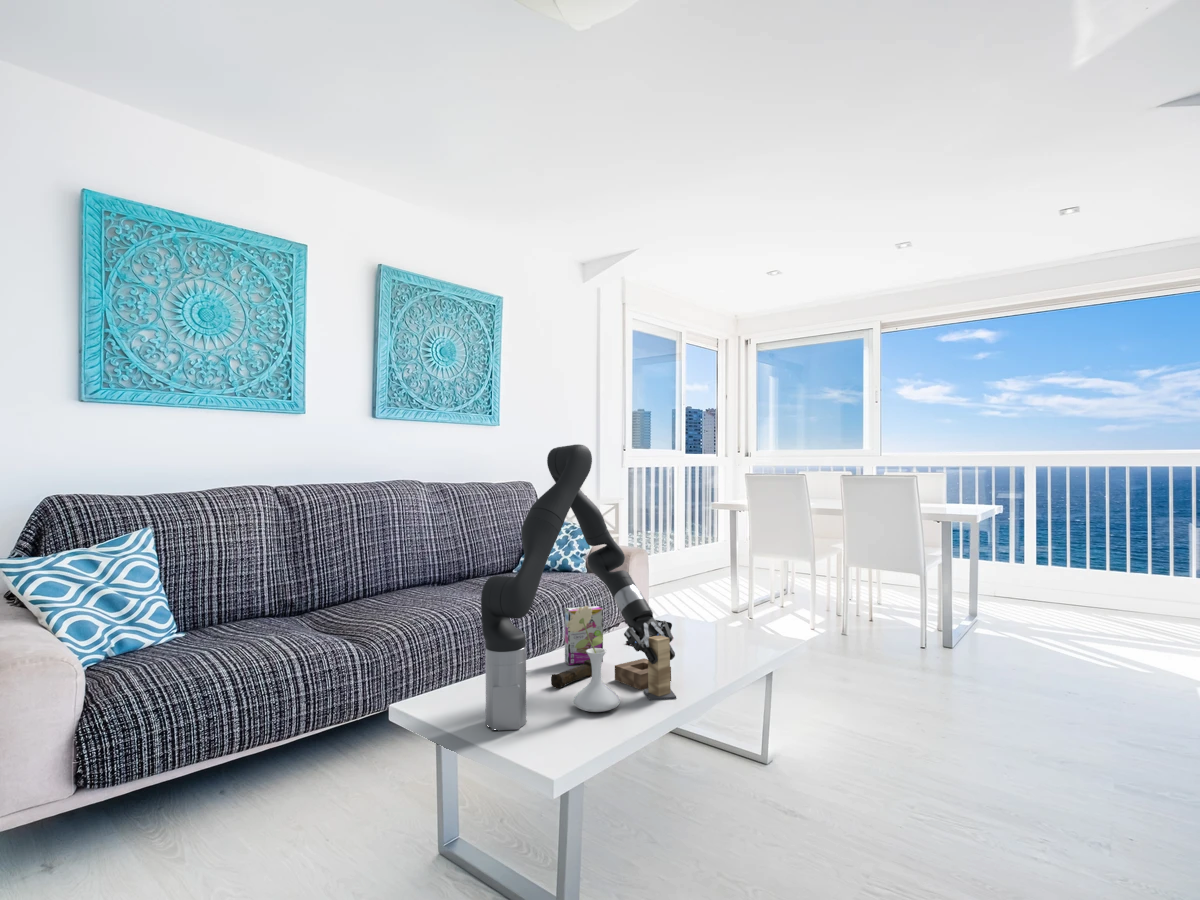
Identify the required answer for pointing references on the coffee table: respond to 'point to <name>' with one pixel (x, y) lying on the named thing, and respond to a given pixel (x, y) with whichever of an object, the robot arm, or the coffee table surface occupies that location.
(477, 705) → the coffee table surface
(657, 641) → the oak peg
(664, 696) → the rubber pad
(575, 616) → the flower in vase
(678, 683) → the coffee table surface
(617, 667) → the socket block
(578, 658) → the candy bar box
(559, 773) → the coffee table surface
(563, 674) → the brown wooden log
